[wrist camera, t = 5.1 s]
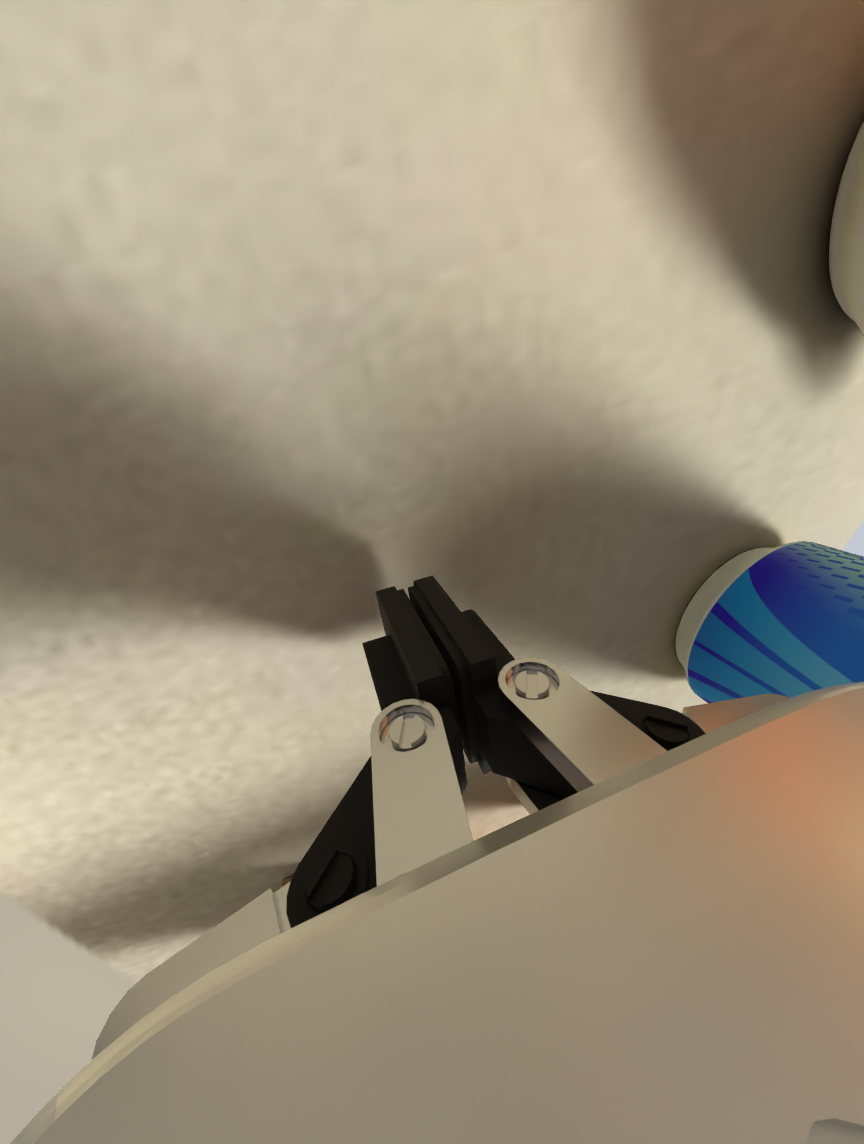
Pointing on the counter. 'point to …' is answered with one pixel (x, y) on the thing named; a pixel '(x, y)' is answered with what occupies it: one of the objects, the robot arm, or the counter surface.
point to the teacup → (849, 236)
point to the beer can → (775, 624)
